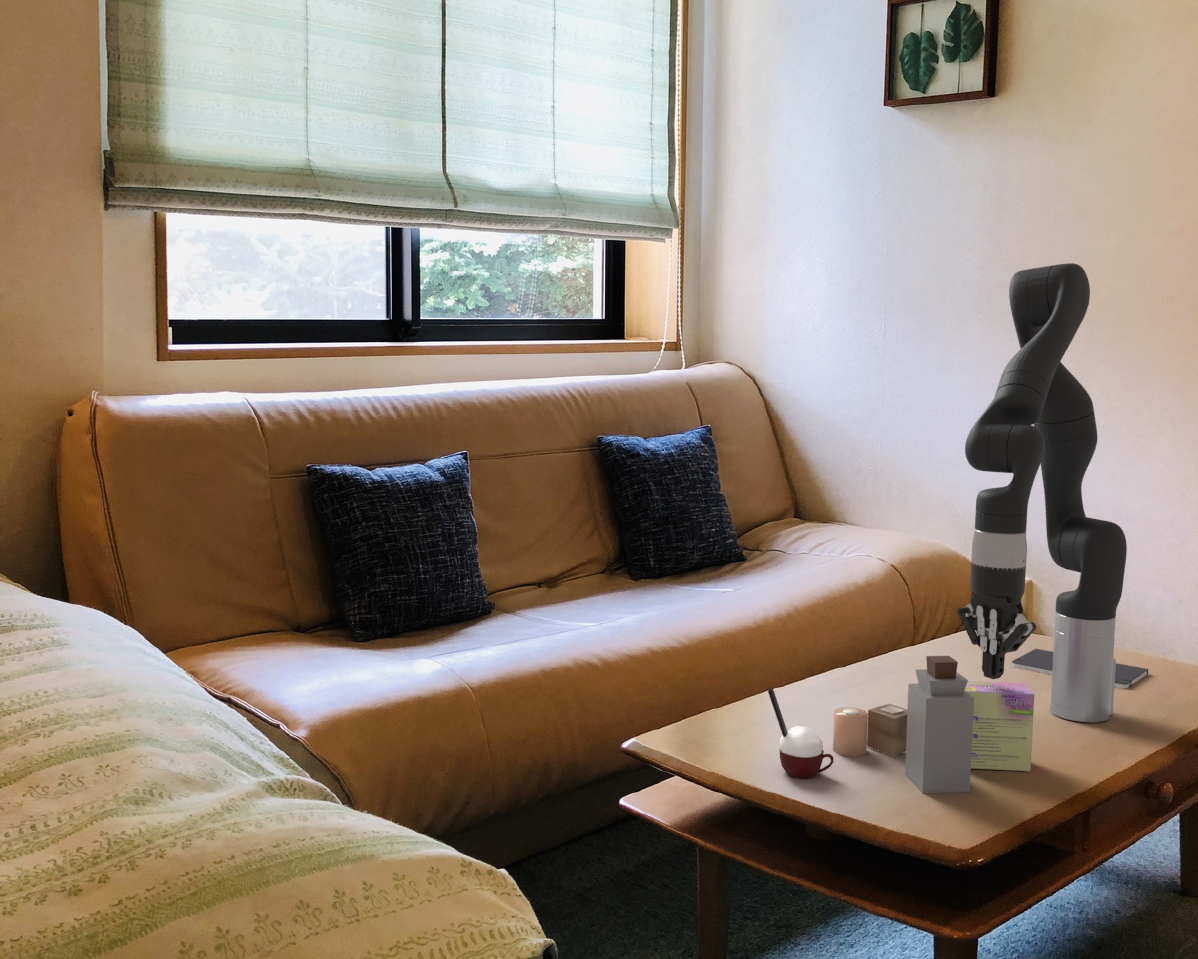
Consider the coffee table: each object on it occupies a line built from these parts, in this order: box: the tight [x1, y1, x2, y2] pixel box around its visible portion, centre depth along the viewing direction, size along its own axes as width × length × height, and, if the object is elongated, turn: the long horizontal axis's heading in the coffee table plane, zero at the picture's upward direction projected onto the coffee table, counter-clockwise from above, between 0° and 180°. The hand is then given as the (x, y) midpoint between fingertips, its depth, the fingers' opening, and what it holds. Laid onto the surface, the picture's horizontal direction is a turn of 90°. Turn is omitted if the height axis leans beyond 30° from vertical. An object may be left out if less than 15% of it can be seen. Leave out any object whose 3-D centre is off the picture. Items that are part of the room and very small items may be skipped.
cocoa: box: [767, 686, 834, 779], centre depth 160 cm, size 10×6×12 cm, turn 48°
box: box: [965, 680, 1035, 773], centre depth 164 cm, size 10×6×12 cm, turn 84°
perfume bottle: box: [904, 655, 974, 794], centre depth 156 cm, size 7×7×18 cm
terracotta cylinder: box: [832, 706, 868, 758], centre depth 170 cm, size 5×5×6 cm
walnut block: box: [867, 703, 908, 757], centre depth 171 cm, size 5×5×6 cm
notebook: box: [1011, 648, 1149, 690], centre depth 212 cm, size 13×2×21 cm
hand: (992, 677), depth 163 cm, fingers closed
